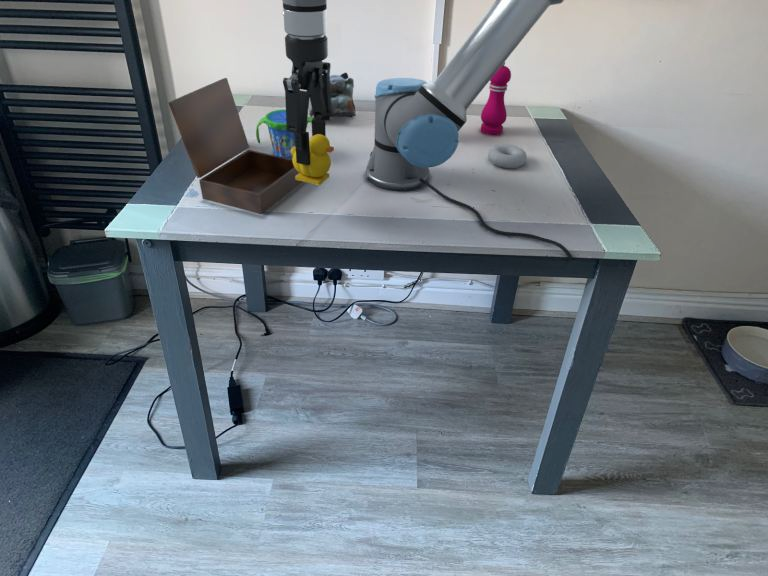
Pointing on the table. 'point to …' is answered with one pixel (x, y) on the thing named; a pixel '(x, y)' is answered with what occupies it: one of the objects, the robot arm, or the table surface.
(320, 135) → the duck
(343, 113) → the lucky cat figurine
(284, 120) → the snack cup
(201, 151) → the lid
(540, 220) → the table surface
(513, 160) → the donut
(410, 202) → the table surface
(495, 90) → the pepper mill
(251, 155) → the chest
